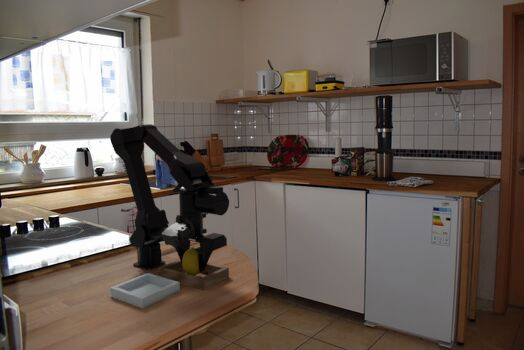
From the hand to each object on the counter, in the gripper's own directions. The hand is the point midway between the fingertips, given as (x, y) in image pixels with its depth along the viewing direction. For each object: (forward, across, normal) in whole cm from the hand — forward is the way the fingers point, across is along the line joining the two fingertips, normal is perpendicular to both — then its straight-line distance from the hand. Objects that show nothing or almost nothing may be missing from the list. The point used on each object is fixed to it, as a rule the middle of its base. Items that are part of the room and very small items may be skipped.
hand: (193, 269), depth 113 cm
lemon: (+2, 0, 0) cm, 2 cm away
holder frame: (+2, 0, 0) cm, 2 cm away
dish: (+2, -2, -14) cm, 14 cm away
